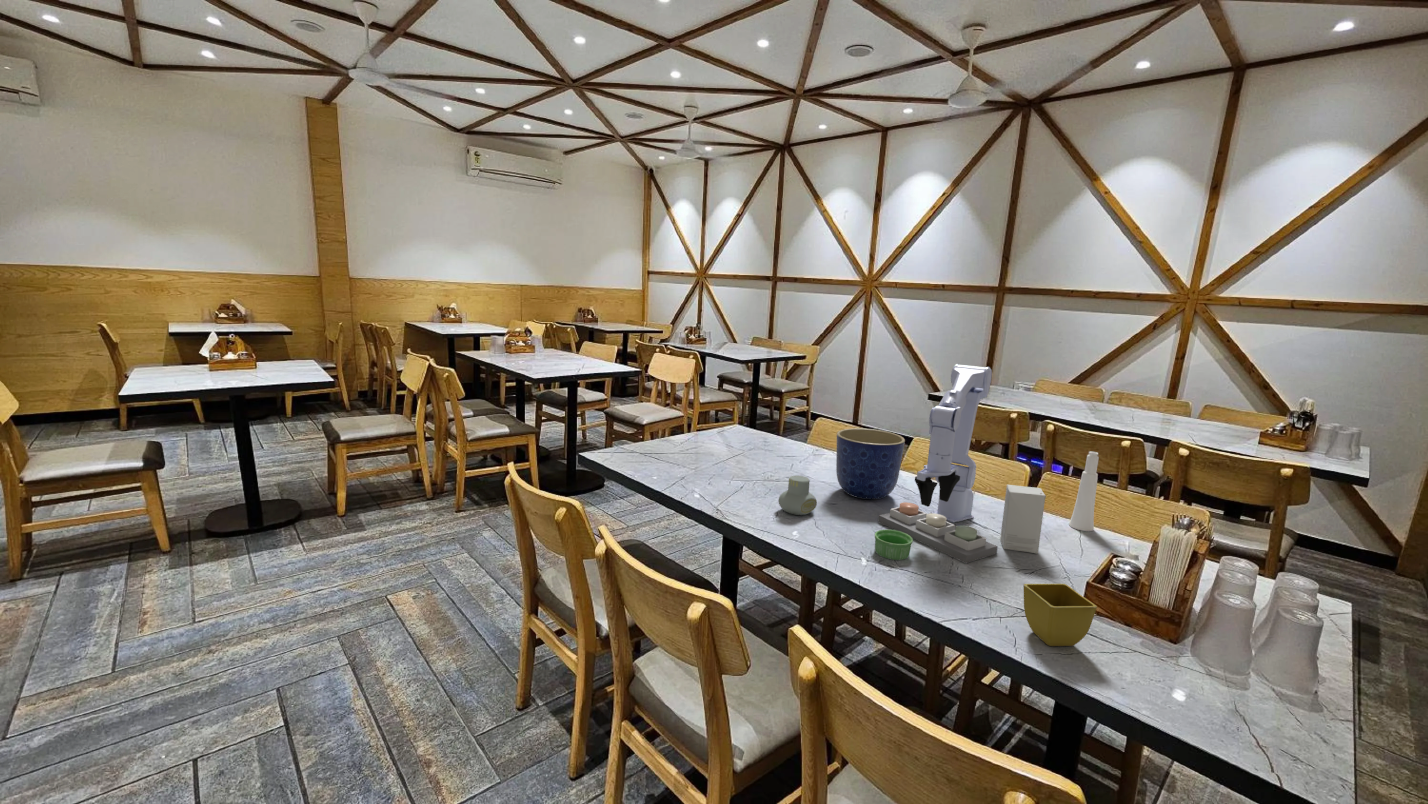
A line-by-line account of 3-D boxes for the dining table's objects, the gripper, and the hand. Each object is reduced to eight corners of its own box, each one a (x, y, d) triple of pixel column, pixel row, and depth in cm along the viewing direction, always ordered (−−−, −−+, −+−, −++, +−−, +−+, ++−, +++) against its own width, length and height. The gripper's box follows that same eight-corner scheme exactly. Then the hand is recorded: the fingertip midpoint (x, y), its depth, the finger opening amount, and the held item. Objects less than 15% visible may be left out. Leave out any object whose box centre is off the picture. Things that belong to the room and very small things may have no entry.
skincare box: (1033, 544, 152) (1042, 487, 149) (1038, 555, 146) (1047, 495, 143) (998, 539, 155) (1006, 483, 152) (1001, 549, 149) (1010, 490, 146)
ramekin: (891, 564, 138) (893, 546, 137) (865, 548, 145) (866, 532, 145) (919, 557, 142) (921, 540, 141) (892, 543, 150) (893, 527, 149)
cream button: (933, 520, 157) (934, 512, 157) (949, 527, 153) (950, 518, 153) (921, 523, 155) (922, 515, 154) (936, 530, 150) (937, 521, 150)
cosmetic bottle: (1095, 527, 166) (1108, 452, 162) (1091, 533, 162) (1104, 456, 158) (1071, 521, 170) (1083, 448, 166) (1066, 526, 166) (1078, 451, 162)
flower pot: (1015, 625, 113) (1022, 582, 112) (1058, 625, 114) (1065, 582, 112) (1044, 653, 105) (1052, 607, 103) (1090, 652, 106) (1098, 606, 104)
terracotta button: (907, 509, 165) (908, 501, 164) (921, 515, 161) (922, 507, 160) (894, 512, 162) (895, 503, 162) (909, 518, 158) (910, 509, 158)
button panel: (907, 515, 169) (909, 502, 168) (996, 553, 146) (998, 538, 145) (878, 521, 163) (879, 508, 162) (965, 563, 140) (967, 547, 139)
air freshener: (795, 520, 162) (797, 485, 160) (773, 511, 168) (775, 477, 166) (820, 511, 169) (822, 478, 167) (798, 503, 175) (800, 471, 173)
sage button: (962, 532, 150) (964, 524, 149) (980, 540, 145) (981, 531, 145) (950, 536, 147) (951, 527, 147) (967, 543, 143) (968, 534, 142)
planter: (906, 492, 189) (912, 435, 186) (888, 510, 172) (894, 448, 169) (845, 479, 200) (849, 425, 197) (822, 495, 183) (826, 436, 180)
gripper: (944, 445, 158) (939, 493, 160) (909, 451, 150) (903, 502, 152) (968, 452, 152) (962, 502, 154) (932, 459, 144) (926, 511, 146)
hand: (934, 502), depth 153 cm, fingers open, 7 cm apart
